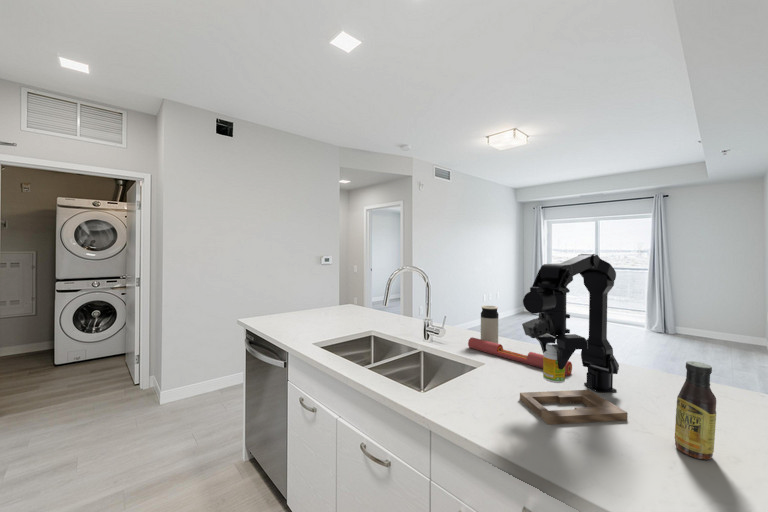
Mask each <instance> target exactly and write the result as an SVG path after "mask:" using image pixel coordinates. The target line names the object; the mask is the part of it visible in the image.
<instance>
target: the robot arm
mask: <svg viewBox="0 0 768 512" xmlns="http://www.w3.org/2000/svg"><path fill="white" fill-rule="evenodd" d="M577 275H580V276H581V277H582V278H583V285H584V286H585V288H586V290H587V291H588V294H589V299H588V300H589V301H588V302H589V303H588V304H589V305H588V338H586V337H584V336H581V335H578V334H575V333H574V334H570V333H571V329H569V328H567V319H571V315H570V313H569V314H568V313H567V293H570V288H568V285H569V284H570V283H572V282H573V281H574V276H577ZM616 277H617V272H616V270H615V269H614V268H613V266H612V264H611V263H609V262H607V261H606V260H604V259H602V258H600V257H599V255H598V254H596V253H580V254H578V255H577V256H574V257H572V258H570V259H567V260H564V261H562V262H559V263H557V262H556V263H544V264H542V265H541V267H540V268H539V269H538V272H537V274H536V277H535V278H534V282H533V283H532V285H531V287H530V288H529V291H528V292H527V293H525V295H524V297H523V299H522V303H523V307H524V309H525V310H526V311H527V312H528V313H531V314H538V317H537V318H532V319H530V320H528V321H525V322H523V323H522V326H521V327H522V329H523V332H524V334H525V336H527V337H530V338H532V339H536V341H538V342H539V345H540V347H541V351H542V353H543V354H544V352H545V351H547V350H546V344H547V343H555V344H552V346H553V347H554V348H555V349H556V350H557V361H558V368H559V369H563V368H564V367H565V365H566V363H567V362H568V361H570V359H571V357H572V355H574V354H575V351H576V350H581V352H580V359H581V363H582V367H585V368H587V372H586V382H584V383H583V385H585V386H586V387H588V388H590V389H592V390H593V391H595V392H597V393H612V392H613V393H614V392H617V391H618V390H617V389H616V388H614V387H613V386H614V385H613V383H614V382H613V381H614V378H613V377H614V375H618V373H619V370H620V365H619V363H618V361H617V359H616V357H615V355H614V350H613V349H614V348H613V347H612V345H611V344H610V341H609V340H608V294H609V292H610V291H611V290H612V289H613V288H614V285H615V281H616ZM543 354H542V355H543Z"/></svg>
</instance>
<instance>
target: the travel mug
mask: <svg viewBox="0 0 768 512" xmlns="http://www.w3.org/2000/svg"><path fill="white" fill-rule="evenodd" d="M498 308H499V307H498V306H496V305H481V312H480V339H481V340H485V341H489V342H493V343H497V344H499V313H498Z"/></svg>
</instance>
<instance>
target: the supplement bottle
mask: <svg viewBox="0 0 768 512" xmlns="http://www.w3.org/2000/svg"><path fill="white" fill-rule="evenodd" d="M552 344H556V342H555V343H547V344H546V350H547V351H545V352H544V354H542V355H543V368H542V373H543V374H542V377H543V379H544V380H545V381H547V382H550V383H552V384H553V383H554V384H563V383H565V381H566V375H565V367H564V368H563V369H559V368H558V361H557V350H556V349H555V348H554V347H553V346H552Z"/></svg>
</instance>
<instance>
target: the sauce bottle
mask: <svg viewBox="0 0 768 512" xmlns="http://www.w3.org/2000/svg"><path fill="white" fill-rule="evenodd" d="M685 369H686V373H685V374H686V376H685V381H684V383H683V384H682V387H681V389H680V391H679V393H678V395H677V397H676V407H675V426H674V427H675V428H674V441H675V442H674V445H675V447H676V449H677V450H678V451H679V452H681V453H683V454H685V455H687V456H690V457H692V458H694V459H698V460H706V461H707V460H710V459H712V458H713V456H714V455H713V454H714V452H715V438H716V437H715V436H716V421H717V410H716V409H717V398H716V396H715V393H714V392H713V391H712V389H711V382H710V381H711V374H712V373H713V367H712V366H711V365H709V364H708V363H704V362H701V361H693V360H689V361H686V363H685Z"/></svg>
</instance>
